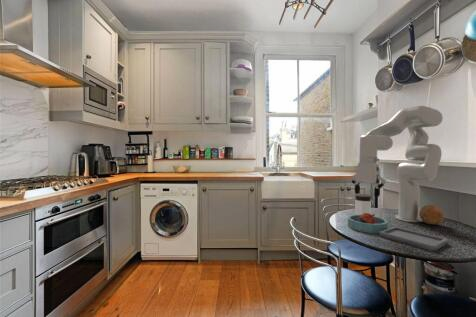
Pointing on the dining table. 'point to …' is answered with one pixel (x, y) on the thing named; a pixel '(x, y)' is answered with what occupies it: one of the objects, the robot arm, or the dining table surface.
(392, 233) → the tray
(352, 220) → the teal polygonal ring
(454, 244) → the dining table surface
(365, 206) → the jar
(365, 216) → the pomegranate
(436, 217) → the onion
